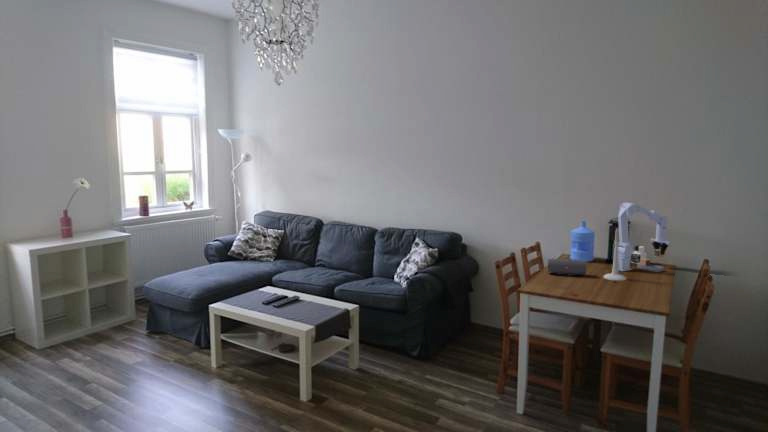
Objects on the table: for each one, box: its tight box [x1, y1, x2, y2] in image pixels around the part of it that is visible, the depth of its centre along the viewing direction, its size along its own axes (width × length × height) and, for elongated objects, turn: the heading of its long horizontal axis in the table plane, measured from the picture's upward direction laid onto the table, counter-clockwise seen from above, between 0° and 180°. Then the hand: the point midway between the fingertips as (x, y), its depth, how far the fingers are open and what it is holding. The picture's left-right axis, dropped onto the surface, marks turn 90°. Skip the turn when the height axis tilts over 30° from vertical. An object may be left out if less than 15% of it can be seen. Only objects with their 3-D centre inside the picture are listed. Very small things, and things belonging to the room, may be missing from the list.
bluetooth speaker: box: [547, 258, 587, 276], centre depth 312 cm, size 23×9×10 cm, turn 71°
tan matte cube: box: [654, 248, 666, 259], centre depth 327 cm, size 5×4×5 cm
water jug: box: [569, 220, 596, 263], centre depth 353 cm, size 16×16×28 cm
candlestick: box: [603, 230, 627, 282], centre depth 301 cm, size 13×13×30 cm
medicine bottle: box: [630, 245, 648, 265], centre depth 343 cm, size 7×7×12 cm
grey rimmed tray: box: [636, 258, 665, 273], centre depth 324 cm, size 14×7×6 cm, turn 29°
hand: (659, 253), depth 327 cm, fingers closed on tan matte cube, 4 cm apart
